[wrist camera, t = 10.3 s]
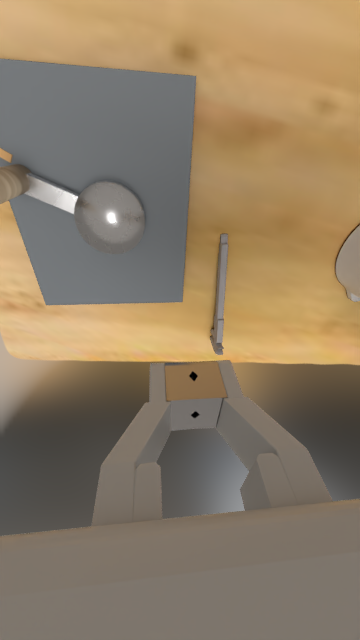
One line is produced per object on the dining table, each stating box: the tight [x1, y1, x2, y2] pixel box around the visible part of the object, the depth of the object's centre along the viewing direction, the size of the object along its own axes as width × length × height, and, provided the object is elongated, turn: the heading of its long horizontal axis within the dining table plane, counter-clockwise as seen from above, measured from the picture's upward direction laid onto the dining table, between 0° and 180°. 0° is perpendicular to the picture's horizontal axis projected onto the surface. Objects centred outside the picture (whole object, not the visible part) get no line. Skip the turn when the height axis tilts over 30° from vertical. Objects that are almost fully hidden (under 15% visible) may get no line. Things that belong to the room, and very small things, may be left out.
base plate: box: [0, 59, 196, 305], centre depth 30 cm, size 21×26×2 cm
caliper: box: [210, 234, 228, 355], centre depth 39 cm, size 20×1×6 cm, turn 0°
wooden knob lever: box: [0, 164, 145, 254], centre depth 25 cm, size 15×8×7 cm, turn 65°
